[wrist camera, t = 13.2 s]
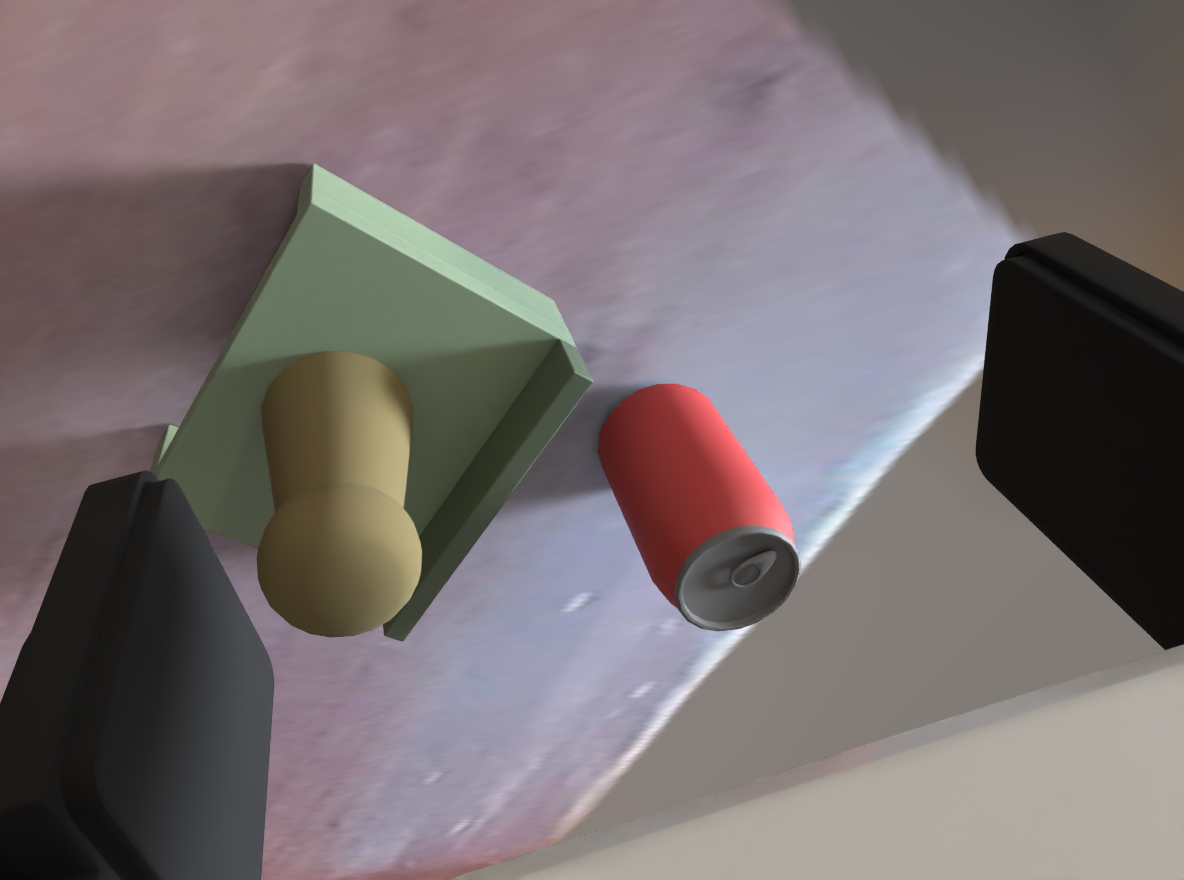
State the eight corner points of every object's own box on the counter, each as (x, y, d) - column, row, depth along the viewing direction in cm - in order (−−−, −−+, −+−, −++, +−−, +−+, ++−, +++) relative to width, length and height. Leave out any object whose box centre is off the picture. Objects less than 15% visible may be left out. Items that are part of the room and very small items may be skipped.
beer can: (738, 429, 49) (840, 573, 39) (645, 505, 50) (721, 663, 41) (667, 353, 45) (760, 491, 36) (569, 437, 47) (632, 593, 37)
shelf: (158, 443, 42) (126, 553, 35) (312, 162, 37) (309, 229, 30) (393, 533, 47) (403, 642, 41) (553, 300, 42) (594, 381, 36)
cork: (252, 469, 38) (228, 662, 29) (270, 339, 35) (250, 508, 26) (398, 485, 40) (419, 669, 31) (427, 363, 37) (458, 527, 28)
